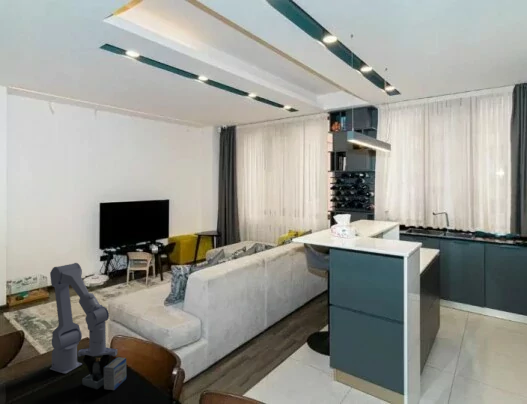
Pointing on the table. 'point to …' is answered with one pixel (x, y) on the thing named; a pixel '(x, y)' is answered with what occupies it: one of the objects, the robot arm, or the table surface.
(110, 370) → the medicine box
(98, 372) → the battery cell
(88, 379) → the trough
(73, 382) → the table surface
